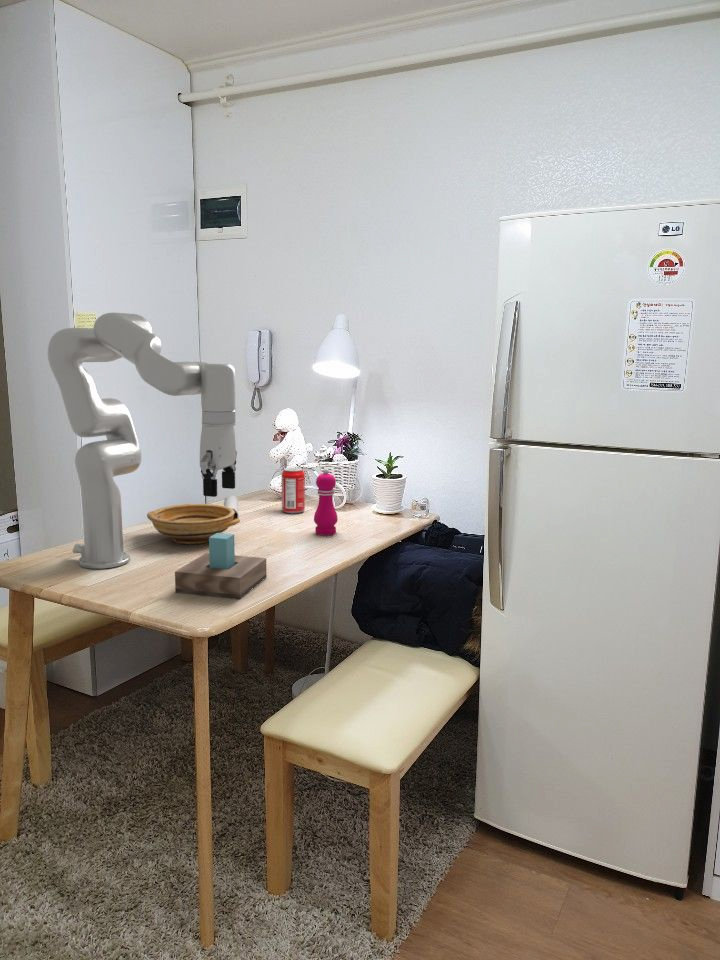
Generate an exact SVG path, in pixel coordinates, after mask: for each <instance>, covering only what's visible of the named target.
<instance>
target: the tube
mask: <svg viewBox="0 0 720 960" xmlns="http://www.w3.org/2000/svg"><path fill="white" fill-rule="evenodd" d="M223 506H226V507H229V508H231V509H233V510H234V511H235V514H234V517H233V520H234V519H239V499H238V498H237V496H236V495H234V494H233V495H231V494H229V495H227V496H226V497H225V498H224V500H223Z"/></svg>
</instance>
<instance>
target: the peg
mask: <svg viewBox="0 0 720 960" xmlns="http://www.w3.org/2000/svg"><path fill="white" fill-rule="evenodd" d="M235 547H236V546H235V534H232V533H224V532H222V533H216V534H214V535H213V536H211V537H209V541H208V551H209V552H208V553H209V560H210V568H218V569H230V568H231V567H233V566H234V565H235V553H236V552H235V551H236V550H235Z"/></svg>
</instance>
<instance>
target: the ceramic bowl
mask: <svg viewBox="0 0 720 960" xmlns="http://www.w3.org/2000/svg"><path fill="white" fill-rule="evenodd" d="M234 514H235V511H234V510H233V509H231V508H229V507H226V506H224V505H221V504H213V503H212V504H210V503H189V504H176V505H171V506H165V507H161V508H157V509H156V510H155V509H154V510H151V511H148V512H147V513H146V518H147V519H148V520H149V521H150V522H151V523H152V525H153V527H154V528H155V530H156V531H158V532H159V534H162V535H163V536H166V537H169V538H172V539H173V540H174V542H176V543H178V542H179V544H183V543H198V544H203V543H202V542H204V543H207V542H206V541H208V542H209V537H211V536H213V535H214V534H216V533H224V532H225V531H227V530H228V529H229V528H231V527H233V526H234V525H235V526H236V525H237V524H239V523H240V522H241V519H240V518H238V519H234V520H233V517H234Z"/></svg>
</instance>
